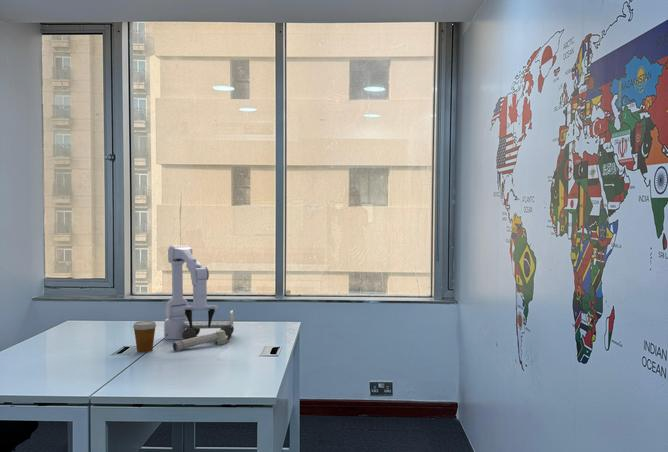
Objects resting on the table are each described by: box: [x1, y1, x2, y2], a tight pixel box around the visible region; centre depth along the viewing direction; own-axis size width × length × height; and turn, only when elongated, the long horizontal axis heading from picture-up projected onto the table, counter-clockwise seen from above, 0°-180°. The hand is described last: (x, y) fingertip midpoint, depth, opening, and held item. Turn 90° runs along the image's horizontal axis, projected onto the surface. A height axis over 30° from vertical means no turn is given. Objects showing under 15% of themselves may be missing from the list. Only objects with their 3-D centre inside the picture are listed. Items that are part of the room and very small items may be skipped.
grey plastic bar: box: [172, 329, 229, 352], centre depth 250 cm, size 5×7×25 cm
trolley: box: [182, 310, 235, 341], centre depth 266 cm, size 22×13×12 cm, turn 95°
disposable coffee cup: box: [132, 320, 157, 353], centre depth 242 cm, size 10×10×12 cm
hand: (200, 327), depth 244 cm, fingers open, 7 cm apart
